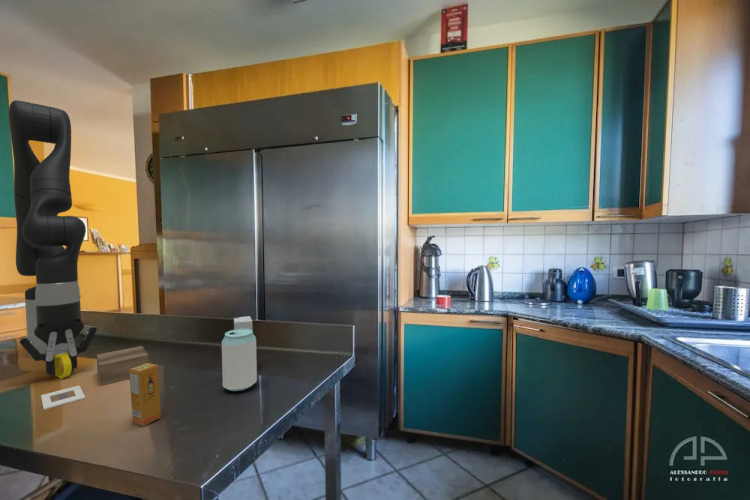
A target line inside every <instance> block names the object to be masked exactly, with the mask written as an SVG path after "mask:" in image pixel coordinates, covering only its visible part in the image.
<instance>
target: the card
mask: <svg viewBox="0 0 750 500" xmlns="http://www.w3.org/2000/svg"><path fill="white" fill-rule="evenodd" d="M40 399H41V404H42V408H43V411H46V410H49V409H53V408H57V407H60V406H65V405H66V404H70V403H73V402H74V403H76V402H78V401H82V400H85V399H86V396H85V394H84V392H83V390H82V388H81V386H80V384H79V385H76V386H71V387H67V388H64V389H60V390H56V391H52V392H48V393H44V394H41V395H40Z"/></svg>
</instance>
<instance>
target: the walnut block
mask: <svg viewBox="0 0 750 500" xmlns="http://www.w3.org/2000/svg"><path fill="white" fill-rule="evenodd" d="M146 363H149V355H148V353H147V351H146V350H145V348H144V347H143V346H142V345H139V346H134V347H128V348H125V349H120V350H119V349H118V350H114V351H109V352H108V351H107V352H103V353H98V354H96V365H97V366H96V367H97V368H96V369H97V377H98V381H99V382H98V383H99V387H102V386H107V385H111V384H115V383H116V384H117V383H119V382H123V381H128V380H130V375H129V369H132V368H135V367H138V366H140V365H143V364H146Z"/></svg>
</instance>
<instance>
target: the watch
mask: <svg viewBox="0 0 750 500" xmlns="http://www.w3.org/2000/svg"><path fill="white" fill-rule="evenodd" d="M68 355H69V350H63V351H58V352H55V353H54V355H53V358H54V360H55V376H54V377H58V378H60V379H61V380H62V379H65V378H68V377H69V376H70V375H71V373H72V372H71V370H72V366H71V360H70V357H69V356H68ZM60 361H61V362H62V364H63V365H62V367H63V371H62V367H61V364H60V363H61V362H60Z"/></svg>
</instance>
